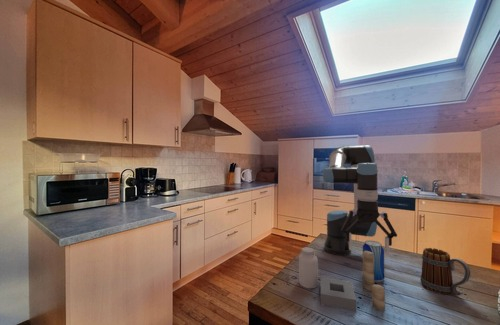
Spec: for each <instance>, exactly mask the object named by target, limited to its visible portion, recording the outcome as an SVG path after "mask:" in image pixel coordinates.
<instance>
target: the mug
mask: <svg viewBox="0 0 500 325" xmlns="http://www.w3.org/2000/svg"><path fill="white" fill-rule="evenodd" d="M421 256H422V257H421V259H422V262H421V263H422V264H421V275H420V283H421V285H422V286H423V287H424V288H426V289H427V290H429V291H431V292H433V293H434V292H435V293H437V294H440V295H451V294H454V295H456V296H462V295H463V294H464V291H462V290H457V287H460V286H461V285H464V284H466V283H468V282H469V280H470V277H471V268H470V266H469V265H468V264H467V262H466V261H464V260H463V259H460V258H457V257H454V258H451V255H450V254H449V252H447V251H444V250H443V249H438V248H434V247H433V248H432V247H428V248H427V247H425V248H423V251H422V255H421ZM455 262H456V263H458V264H460V265H461V266H462V267H463V270H464V275H463V277H462V279H461V280H460V281H458V282H455V283H454V282H453V275H452V274H453V271H455V270H457V268H456V267H455V265H454V263H455Z"/></svg>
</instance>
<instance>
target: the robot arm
mask: <svg viewBox="0 0 500 325" xmlns="http://www.w3.org/2000/svg"><path fill="white" fill-rule="evenodd" d="M328 158H329V159H328V160H329V165H328V167H324V168H323V169H322V180H323V183H329V184H353V205H354V208H353V209H350V210H348V211H347V210H340V209H339V210H333V211H329V212H328V213H327V214H326V227H327V228H326V239H325V242H324V245H323V247H324V250H325V251H326V252H328V253H330V254H334V255H339V256H346V255H350V254H351V253H352V236H353V235H354V236H361V237H375V236H376V234H377V229H378V228H380V229H381V231H383V233H384V234H385V235H384V253H385V254H386V255H390V247H391V246H392V245H393V242H392V241H393V240H392V239H393V238H394V237H395V238H396V237H398V233H397V232H396V230H395V229H394V227H393V225H392V224H391V222H390V220H389V216H388V213H387V212H385V211H382V212H379V202H378V198H379V195H378V194H379V193H378V191H379V189H378V173H379V170H378V164H377V163H375V160H376V159H375V153H374V148H373V147H372V146H371V145H366V144H365V145H364V144H363V145H343V146H339V147H338V148H336V149H334V150H333V151H331V153H330V154H329V157H328ZM345 165H350V167H345ZM379 217H381V218H382V219H383V220H384V222H385V224H386V226H387V228H388V229H389V231H390V232H389V231H388V230H387V228H385V227H384V225H383V224H382V223H380V221H379V220H378V218H379Z"/></svg>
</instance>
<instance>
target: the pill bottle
mask: <svg viewBox="0 0 500 325" xmlns="http://www.w3.org/2000/svg"><path fill="white" fill-rule="evenodd" d="M318 263H319V260H318V257H317V256H316V255H315V249H314V248H312V247H308V246H306V247H302V248H301V254H299V256H298V277H299V278H298V281H299V284H300V286H302V287H304V288H306V289H315V288H317V287H318V284H319V276H318V275H319V269H318V268H319V264H318Z"/></svg>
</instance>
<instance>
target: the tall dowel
mask: <svg viewBox="0 0 500 325" xmlns="http://www.w3.org/2000/svg"><path fill="white" fill-rule="evenodd" d="M372 285H375V282H374V254H373V253H372V252H369V251H363V250H362V287H363V288H362V289H363V290H364V291H366V292H368V293H372Z"/></svg>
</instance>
